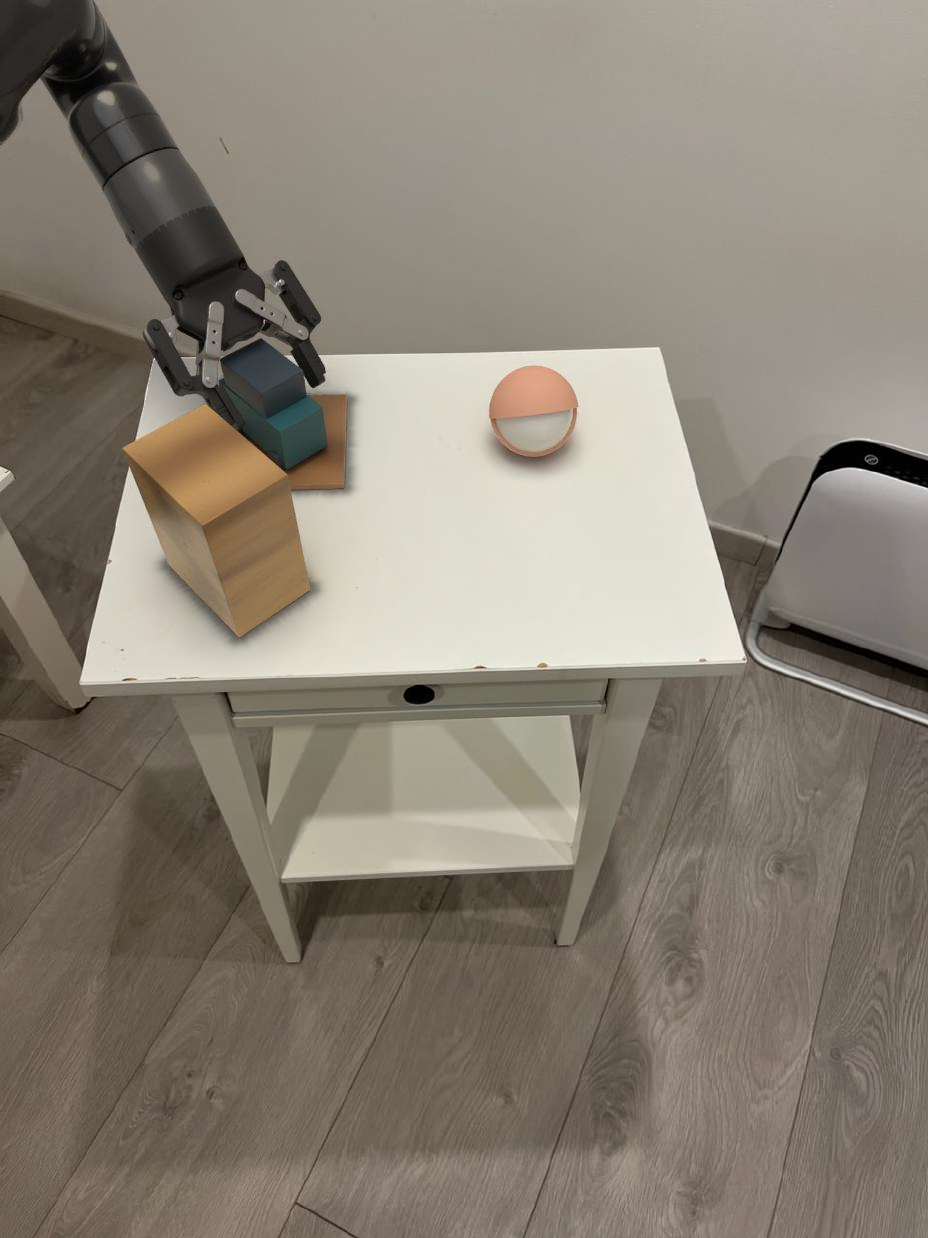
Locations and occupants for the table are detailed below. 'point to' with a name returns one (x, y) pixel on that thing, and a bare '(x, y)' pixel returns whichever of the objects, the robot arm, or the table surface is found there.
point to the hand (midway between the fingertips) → (280, 406)
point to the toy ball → (533, 411)
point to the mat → (322, 450)
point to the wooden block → (221, 517)
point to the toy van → (274, 403)
